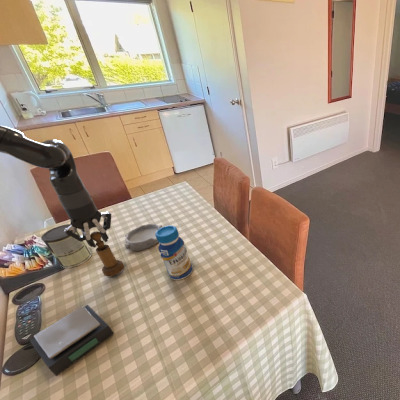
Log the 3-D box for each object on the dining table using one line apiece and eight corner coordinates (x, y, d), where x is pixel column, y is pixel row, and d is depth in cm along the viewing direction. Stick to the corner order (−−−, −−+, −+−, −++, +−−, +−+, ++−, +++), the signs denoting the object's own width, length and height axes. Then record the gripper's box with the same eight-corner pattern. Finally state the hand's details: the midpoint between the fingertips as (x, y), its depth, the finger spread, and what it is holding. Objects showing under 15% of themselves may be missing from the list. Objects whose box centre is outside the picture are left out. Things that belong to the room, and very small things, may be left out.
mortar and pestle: (106, 266, 103) (85, 229, 94) (125, 262, 105) (107, 225, 96) (102, 278, 98) (79, 240, 89) (122, 273, 100) (102, 235, 91)
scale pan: (50, 359, 69) (49, 357, 69) (34, 337, 74) (33, 335, 74) (100, 324, 78) (99, 323, 77) (83, 307, 83) (82, 305, 82)
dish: (165, 229, 126) (162, 220, 123) (160, 247, 114) (156, 238, 112) (131, 235, 122) (127, 227, 119) (122, 255, 110) (117, 246, 108)
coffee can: (53, 267, 105) (33, 239, 98) (77, 250, 114) (60, 223, 107) (75, 269, 104) (57, 241, 96) (98, 252, 112) (82, 224, 105)
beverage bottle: (185, 261, 107) (171, 221, 97) (198, 270, 102) (184, 228, 92) (165, 274, 101) (147, 232, 91) (177, 284, 96) (159, 241, 86)
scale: (56, 377, 70) (47, 367, 67) (37, 348, 77) (27, 338, 74) (114, 334, 80) (108, 324, 78) (93, 312, 87) (86, 302, 84)
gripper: (97, 190, 93) (116, 230, 102) (45, 208, 83) (71, 251, 91) (107, 196, 90) (126, 236, 98) (54, 215, 79) (81, 259, 88)
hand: (99, 243), depth 95 cm, fingers closed on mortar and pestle, 3 cm apart
